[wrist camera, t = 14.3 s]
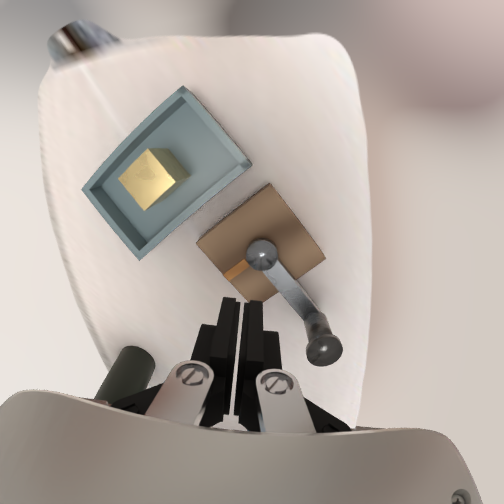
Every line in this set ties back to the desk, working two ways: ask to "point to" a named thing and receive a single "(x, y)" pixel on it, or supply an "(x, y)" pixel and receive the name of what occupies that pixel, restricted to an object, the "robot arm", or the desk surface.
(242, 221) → the crank base
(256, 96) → the desk surface
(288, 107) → the desk surface
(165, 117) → the tray
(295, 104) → the desk surface
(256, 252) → the crank
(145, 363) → the wine bottle
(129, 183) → the block
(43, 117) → the desk surface
